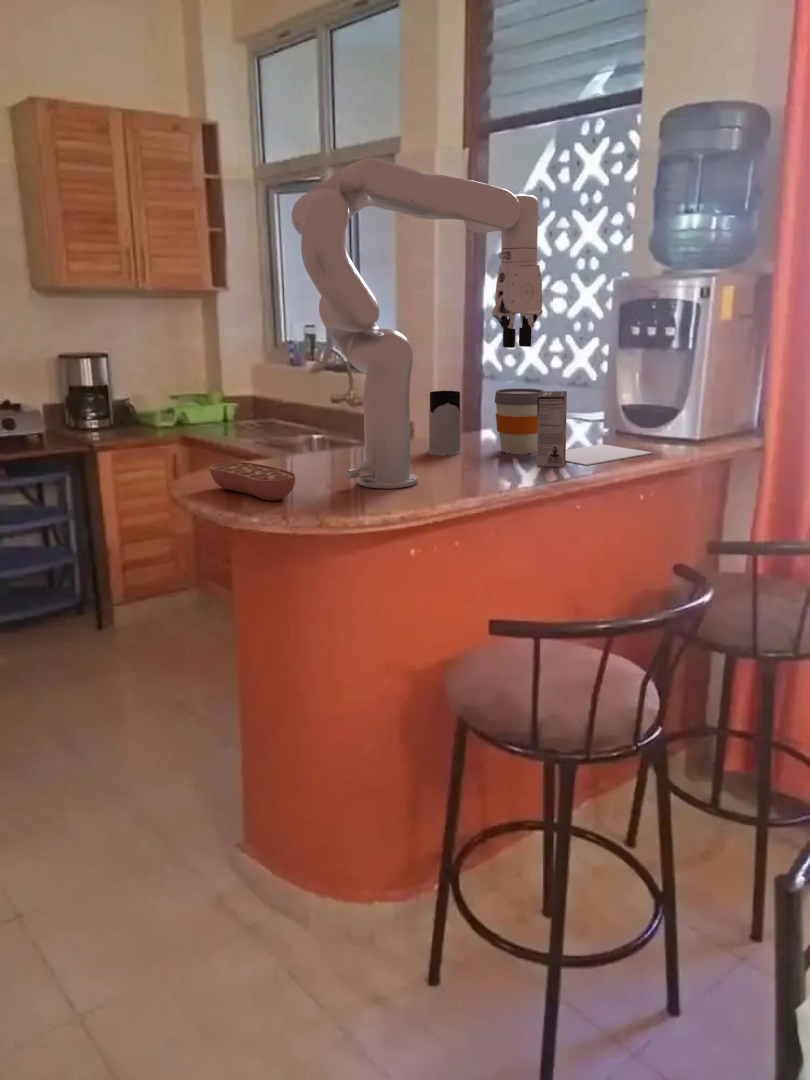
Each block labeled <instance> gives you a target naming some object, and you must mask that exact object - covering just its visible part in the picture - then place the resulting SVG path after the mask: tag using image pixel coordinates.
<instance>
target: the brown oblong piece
mask: <svg viewBox="0 0 810 1080" xmlns="http://www.w3.org/2000/svg"><path fill="white" fill-rule="evenodd" d="M209 472H210V475H211V478H212V480H213V481H214V483H216V485H218V486H219V487H220V488H222V489H224V490H227V491H232V492H238V493H242V494H247V495H250V496H254V497H257V498H259V499H262V500H264V501H267V502H274V501H275V502H277V501H279V500H282V499H284V498H286V497H287V496H288V495H290V493H291V492H292V491H293V489H294V487H295V485H296V484H295V483H296V473H294V472H292V471H288V470H285V469H282V468H280V467H275V466H270V465H264V464H259V463H252V462H243V461H242V462H241V461H240V462H239V461H231V462H222V463H221V462H220V463H217V464H213V465H211V466H209Z"/></svg>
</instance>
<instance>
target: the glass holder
mask: <svg viewBox="0 0 810 1080" xmlns="http://www.w3.org/2000/svg"><path fill="white" fill-rule="evenodd" d="M461 411H462V410H461V392H460V391H459V390H457V391H456V390H435V391H430V392H429V410H428V413H429V415H428V417H429V418H428V419H429V421H428V422H429V423H428V426H429V428H428V429H429V430H428V431H429V435H428V439H429V441H428V442H429V443H428V444H429V445H428V450H427V454H429V455H432V456H439V457H440V456H441V457H442V456H444V457H446V455H449V456H457V455H461V454H462V453H463V450H462V447H461V446H462V445H461V444H462V443H461V442H462V441H461V440H462V438H461V437H462V436H461V434H462V433H461V431H462V429H461V428H462V427H461V425H462V423H461V421H462V419H461V418H462V412H461Z"/></svg>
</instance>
